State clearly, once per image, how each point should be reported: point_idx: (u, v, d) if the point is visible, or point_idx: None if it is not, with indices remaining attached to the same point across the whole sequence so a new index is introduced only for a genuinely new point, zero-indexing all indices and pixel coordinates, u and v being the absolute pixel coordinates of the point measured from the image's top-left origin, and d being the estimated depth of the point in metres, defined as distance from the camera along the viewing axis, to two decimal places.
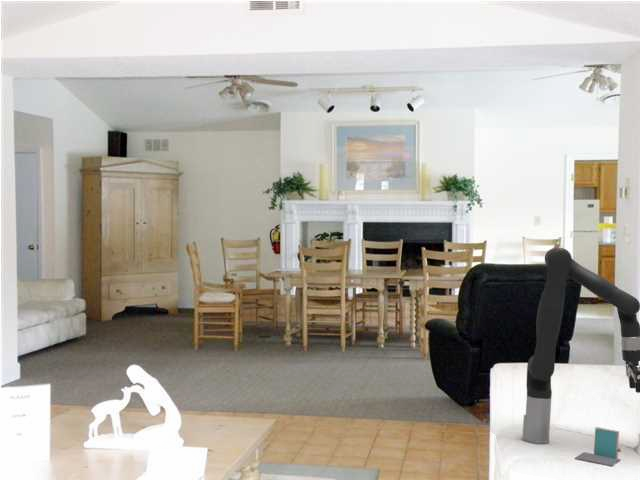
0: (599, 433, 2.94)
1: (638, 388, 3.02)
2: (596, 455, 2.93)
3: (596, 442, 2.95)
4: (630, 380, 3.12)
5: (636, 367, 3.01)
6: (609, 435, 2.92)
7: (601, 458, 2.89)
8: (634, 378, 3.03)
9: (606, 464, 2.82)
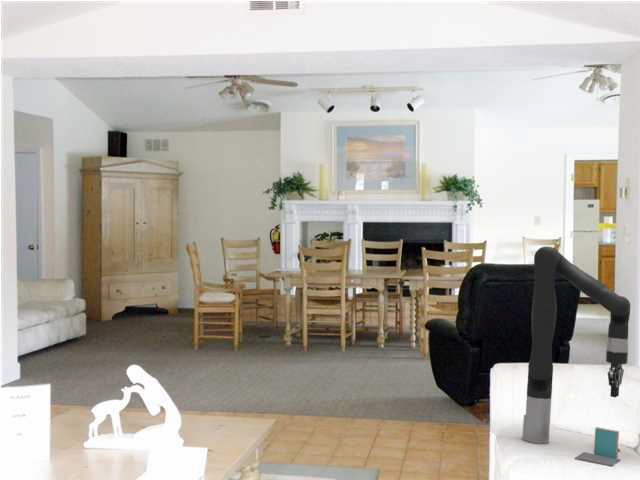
0: (599, 433, 2.94)
1: (612, 392, 2.98)
2: (596, 455, 2.93)
3: (596, 442, 2.95)
4: None
5: (609, 374, 2.95)
6: (609, 435, 2.92)
7: (601, 458, 2.89)
8: None
9: (606, 464, 2.82)
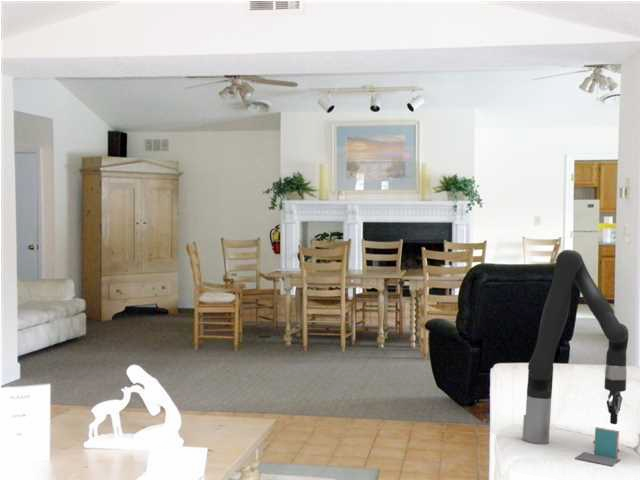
0: (599, 433, 2.94)
1: (612, 419, 2.99)
2: (596, 455, 2.93)
3: (596, 442, 2.95)
4: None
5: (608, 403, 2.95)
6: (609, 435, 2.92)
7: (601, 458, 2.89)
8: None
9: (606, 464, 2.82)
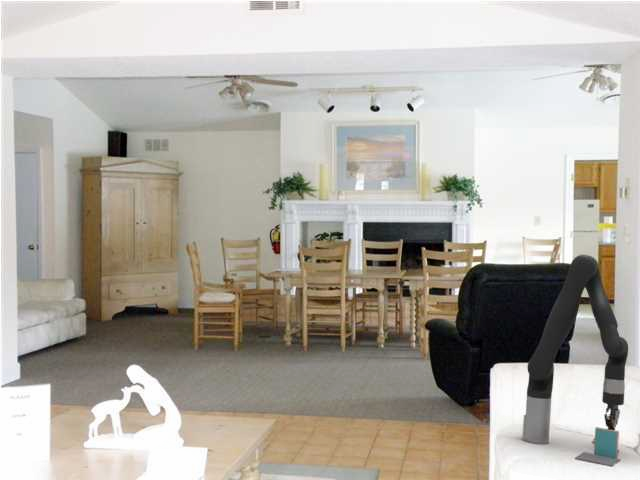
0: (599, 433, 2.94)
1: None
2: (596, 455, 2.93)
3: (596, 442, 2.95)
4: (609, 428, 2.99)
5: (605, 416, 2.94)
6: (609, 435, 2.92)
7: (601, 458, 2.89)
8: None
9: (606, 464, 2.82)
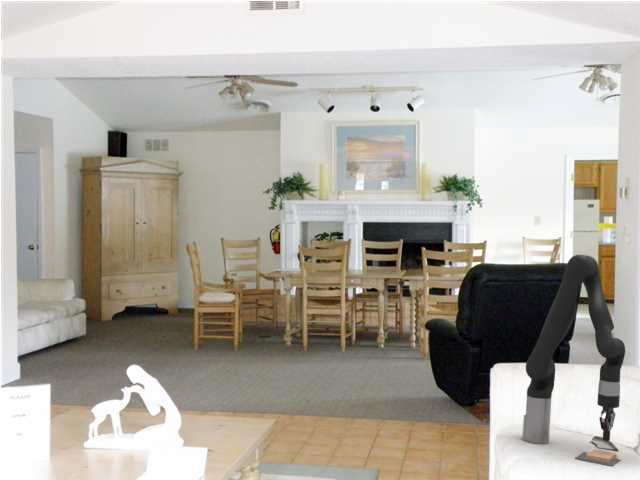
0: None
1: (604, 436, 2.92)
2: None
3: None
4: None
5: (600, 419, 2.88)
6: None
7: None
8: None
9: (606, 464, 2.82)
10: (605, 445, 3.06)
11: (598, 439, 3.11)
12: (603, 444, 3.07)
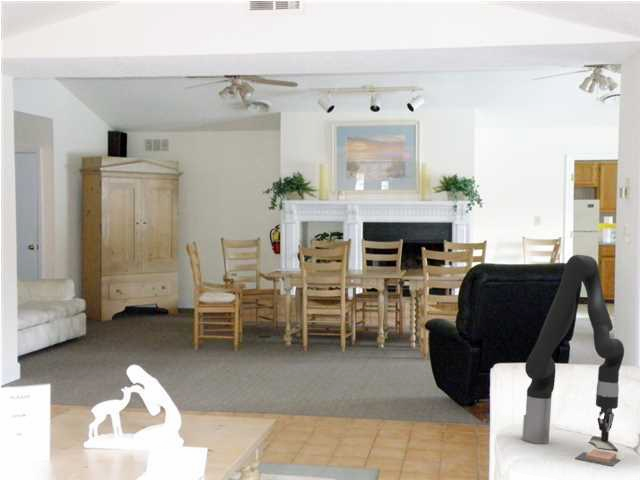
0: None
1: (602, 437, 2.91)
2: None
3: None
4: None
5: (599, 420, 2.87)
6: None
7: None
8: None
9: (606, 464, 2.82)
10: (604, 445, 3.06)
11: (597, 439, 3.11)
12: (602, 444, 3.07)
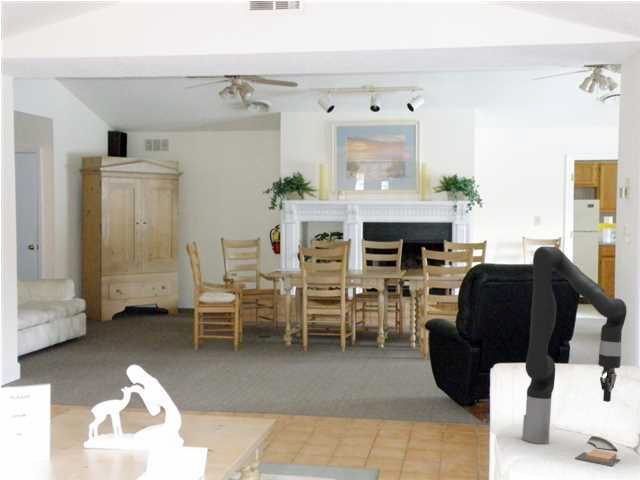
0: None
1: (605, 396, 2.90)
2: None
3: None
4: None
5: (601, 379, 2.87)
6: None
7: None
8: None
9: (606, 464, 2.82)
10: (604, 445, 3.06)
11: (596, 439, 3.10)
12: (602, 444, 3.07)
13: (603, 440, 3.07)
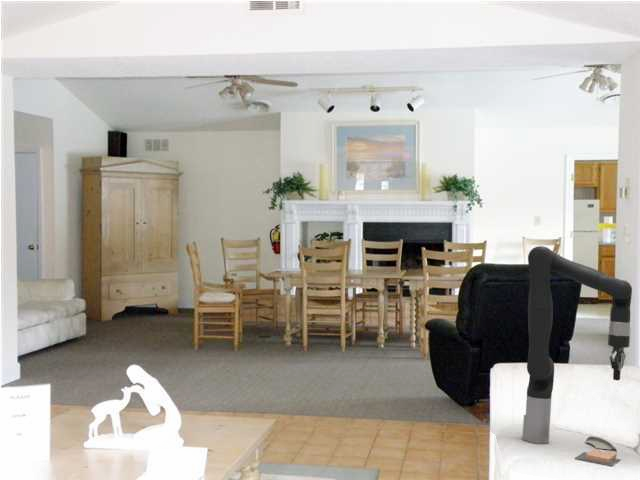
0: None
1: (614, 375, 3.00)
2: None
3: None
4: None
5: (611, 358, 2.96)
6: None
7: None
8: None
9: (606, 464, 2.82)
10: (602, 445, 3.05)
11: (594, 440, 3.10)
12: (600, 444, 3.06)
13: (601, 440, 3.07)
